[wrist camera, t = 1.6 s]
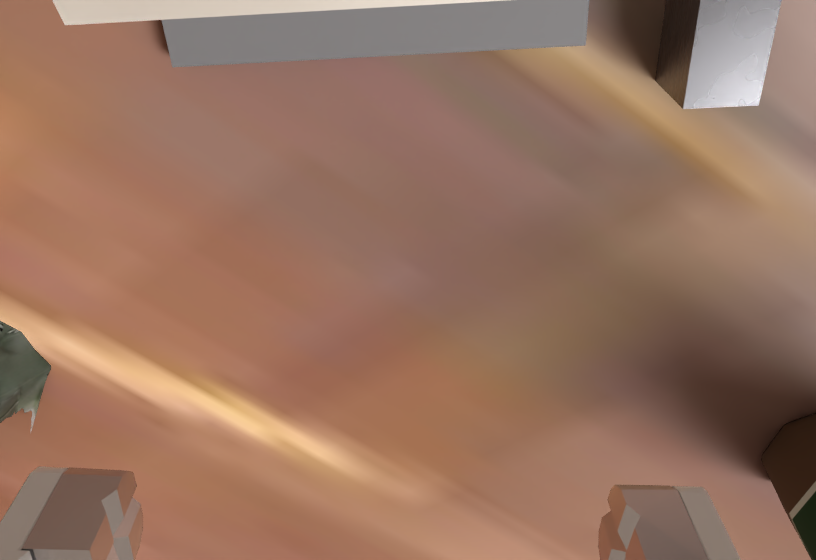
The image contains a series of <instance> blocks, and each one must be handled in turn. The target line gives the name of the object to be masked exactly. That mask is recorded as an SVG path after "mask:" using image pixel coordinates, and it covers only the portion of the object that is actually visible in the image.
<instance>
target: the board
mask: <svg viewBox="0 0 816 560" xmlns="http://www.w3.org/2000/svg"><path fill="white" fill-rule="evenodd" d="M588 10H589V0H506V1H488V2H470V3H453V4H435V5H417V6H399V7H381V8H363V9H345V10H327V11H310V12H292V13H274V14H256V15H238V16H220V17H202V18H184V19H166V20H162V25H163V29H164V33H165V37H166V41H167V46H168V50H169V54H170V58H171V63H172V67H186V66H205V65H224V64H243V63H262V62H281V61H300V60H319V59H338V58H357V57H376V56H395V55H414V54H433V53H451V52H470V51H489V50H508V49H527V48H546V47H565V46H584V45H586V35H587V22H588Z"/></svg>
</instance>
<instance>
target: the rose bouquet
mask: <svg viewBox="0 0 816 560" xmlns="http://www.w3.org/2000/svg"><path fill="white" fill-rule="evenodd" d="M50 370H51V365H50V364H49V363H48V362H47V361H46V360H44V359H43V358H42V357H41V356H40V355H39V354H38V353H37V352H36V351H35V350H34V348H33V347H32V346H31V344H30V343H29V342H28V340H27V339H26V338H25V336H24V335H23V334H22V332H20V331H18V330H16V329H14V328H13V327H11V326H9V325H7V324H5V323H3V322H1V321H0V423H1V422H2V421H3V420H4V419H6V418H7V417H11V416H12V415H13V413H14V412H15V414H16V413H17V412H18V411H20V409H21V408H23V409H24V412H28V411H32V414H33V415H32V418H31V421H32V422H31V425H32V426H31V430H32V427H33V423H34V420H35V416H36V413H37V409H38V406H39V402H40V399H41V395H42V392H43V388H44V384H45V381H46V379H47V376H48V374H49V372H50ZM31 430H30V431H31ZM30 433H31V432H30Z"/></svg>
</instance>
